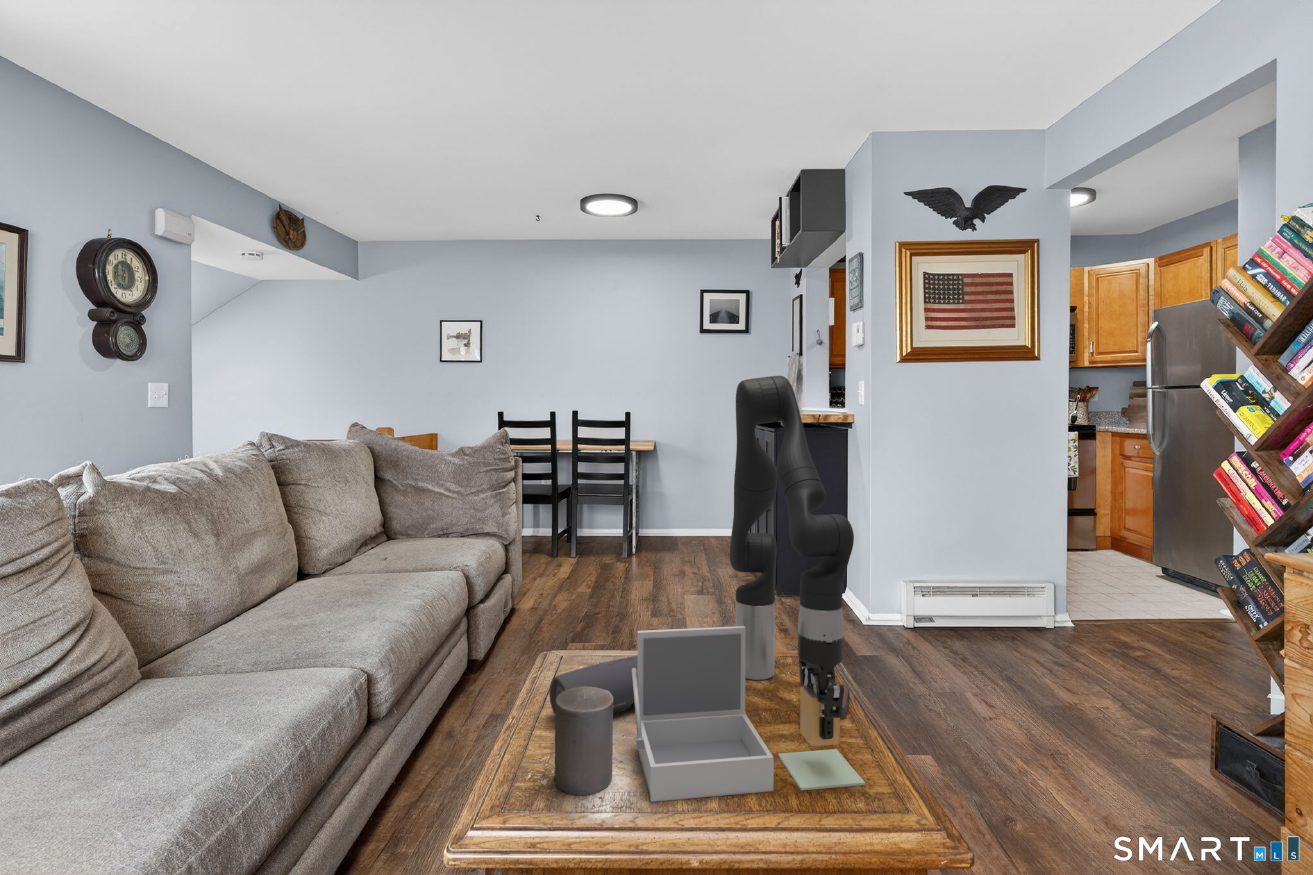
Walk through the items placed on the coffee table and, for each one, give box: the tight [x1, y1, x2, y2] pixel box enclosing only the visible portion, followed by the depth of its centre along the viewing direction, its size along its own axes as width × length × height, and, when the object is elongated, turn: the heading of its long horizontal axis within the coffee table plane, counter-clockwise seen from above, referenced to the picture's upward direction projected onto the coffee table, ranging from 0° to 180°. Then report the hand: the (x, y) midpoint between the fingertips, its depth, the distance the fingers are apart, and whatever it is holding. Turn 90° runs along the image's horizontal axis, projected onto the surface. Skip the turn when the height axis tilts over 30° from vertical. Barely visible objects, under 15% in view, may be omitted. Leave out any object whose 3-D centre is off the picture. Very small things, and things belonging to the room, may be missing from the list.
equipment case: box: [632, 625, 775, 803], centre depth 111 cm, size 18×21×22 cm
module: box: [799, 685, 841, 747], centre depth 111 cm, size 5×5×8 cm
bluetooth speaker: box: [548, 655, 637, 715], centre depth 133 cm, size 23×9×10 cm, turn 124°
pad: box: [777, 748, 866, 791], centre depth 111 cm, size 11×11×1 cm
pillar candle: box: [554, 686, 614, 796], centre depth 108 cm, size 10×10×15 cm
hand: (819, 729), depth 111 cm, fingers closed on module, 5 cm apart
